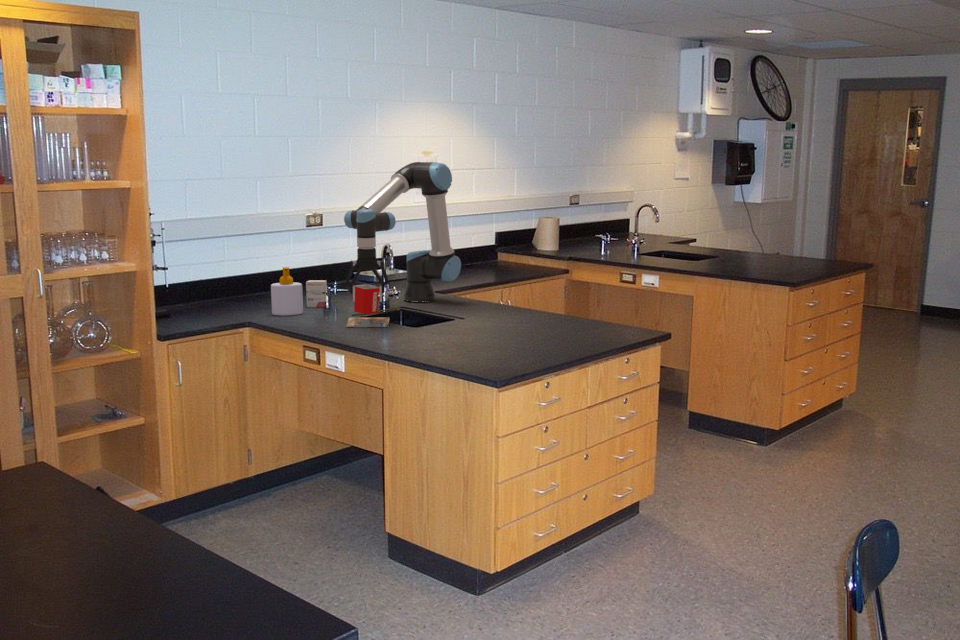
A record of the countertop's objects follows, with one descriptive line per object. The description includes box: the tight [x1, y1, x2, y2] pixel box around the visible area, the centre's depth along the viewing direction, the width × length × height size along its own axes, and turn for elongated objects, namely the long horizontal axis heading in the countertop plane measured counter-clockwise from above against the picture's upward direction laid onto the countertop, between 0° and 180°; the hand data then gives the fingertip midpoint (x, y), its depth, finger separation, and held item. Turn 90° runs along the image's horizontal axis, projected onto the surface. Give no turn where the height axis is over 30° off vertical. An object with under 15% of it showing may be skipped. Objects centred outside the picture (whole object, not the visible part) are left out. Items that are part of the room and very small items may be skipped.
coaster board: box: [345, 316, 391, 328], centre depth 387 cm, size 17×17×1 cm
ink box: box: [305, 279, 328, 308], centre depth 421 cm, size 9×5×12 cm, turn 84°
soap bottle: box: [270, 266, 304, 317], centre depth 403 cm, size 13×8×20 cm, turn 102°
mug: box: [353, 284, 380, 315], centre depth 385 cm, size 12×8×11 cm
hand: (367, 301), depth 385 cm, fingers closed on mug, 10 cm apart
